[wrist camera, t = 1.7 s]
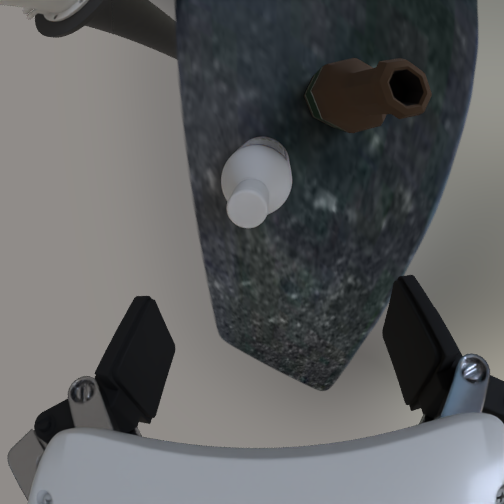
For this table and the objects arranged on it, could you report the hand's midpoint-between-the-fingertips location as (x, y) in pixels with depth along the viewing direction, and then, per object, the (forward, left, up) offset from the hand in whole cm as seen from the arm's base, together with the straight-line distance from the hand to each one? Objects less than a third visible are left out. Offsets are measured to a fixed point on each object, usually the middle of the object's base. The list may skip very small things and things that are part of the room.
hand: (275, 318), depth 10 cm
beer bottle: (+9, +8, -30) cm, 33 cm away
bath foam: (-1, 0, -30) cm, 30 cm away
